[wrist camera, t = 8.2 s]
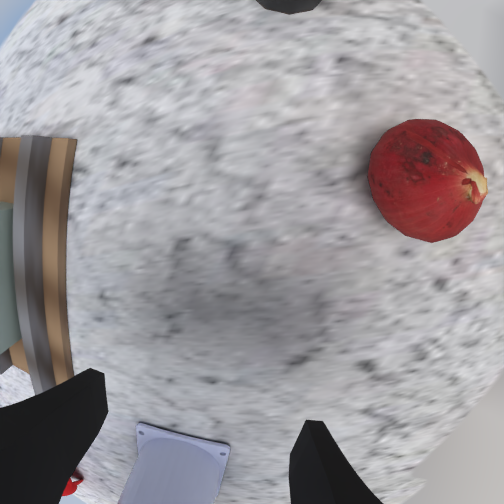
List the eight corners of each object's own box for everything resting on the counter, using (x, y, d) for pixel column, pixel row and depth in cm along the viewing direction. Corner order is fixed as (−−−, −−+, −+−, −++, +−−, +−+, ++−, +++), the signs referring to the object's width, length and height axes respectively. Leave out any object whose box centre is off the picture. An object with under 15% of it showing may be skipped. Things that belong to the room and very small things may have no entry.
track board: (76, 388, 21) (59, 408, 18) (1, 350, 21) (-16, 363, 18) (77, 139, 16) (49, 135, 13) (-6, 138, 16) (-31, 137, 13)
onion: (331, 189, 16) (384, 196, 9) (382, 111, 15) (455, 70, 7) (405, 246, 17) (483, 289, 9) (450, 171, 16) (539, 174, 8)
